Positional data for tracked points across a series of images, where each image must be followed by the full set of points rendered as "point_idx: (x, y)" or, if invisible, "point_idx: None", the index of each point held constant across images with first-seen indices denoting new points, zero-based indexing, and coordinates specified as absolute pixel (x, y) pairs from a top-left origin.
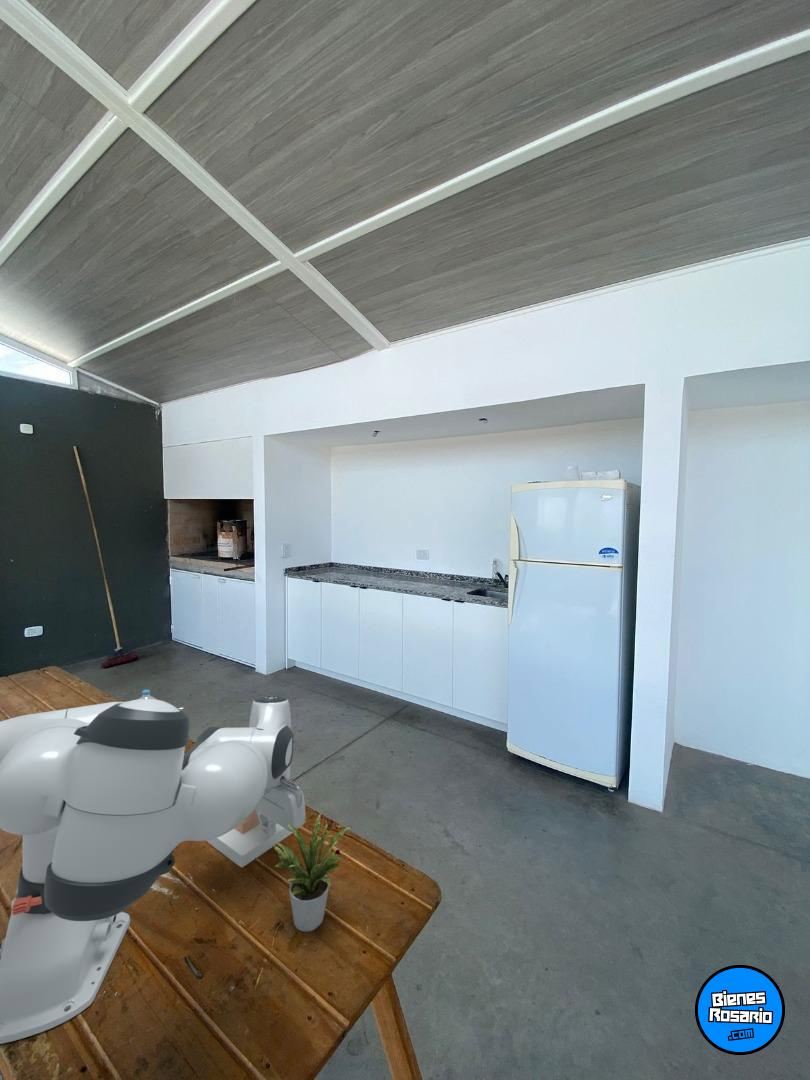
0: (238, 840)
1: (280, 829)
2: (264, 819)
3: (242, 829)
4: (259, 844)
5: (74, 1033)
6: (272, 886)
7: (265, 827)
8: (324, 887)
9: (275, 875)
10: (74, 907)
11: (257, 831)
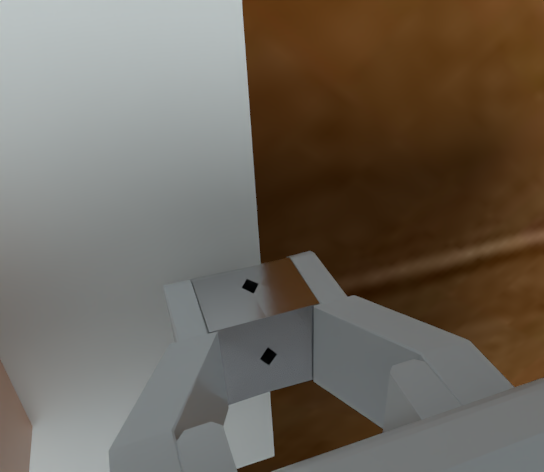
0: (93, 457)
1: (238, 128)
2: (209, 406)
3: (24, 470)
4: None
5: None
6: (476, 308)
7: (283, 381)
8: None
9: (442, 272)
10: None
11: (84, 318)
